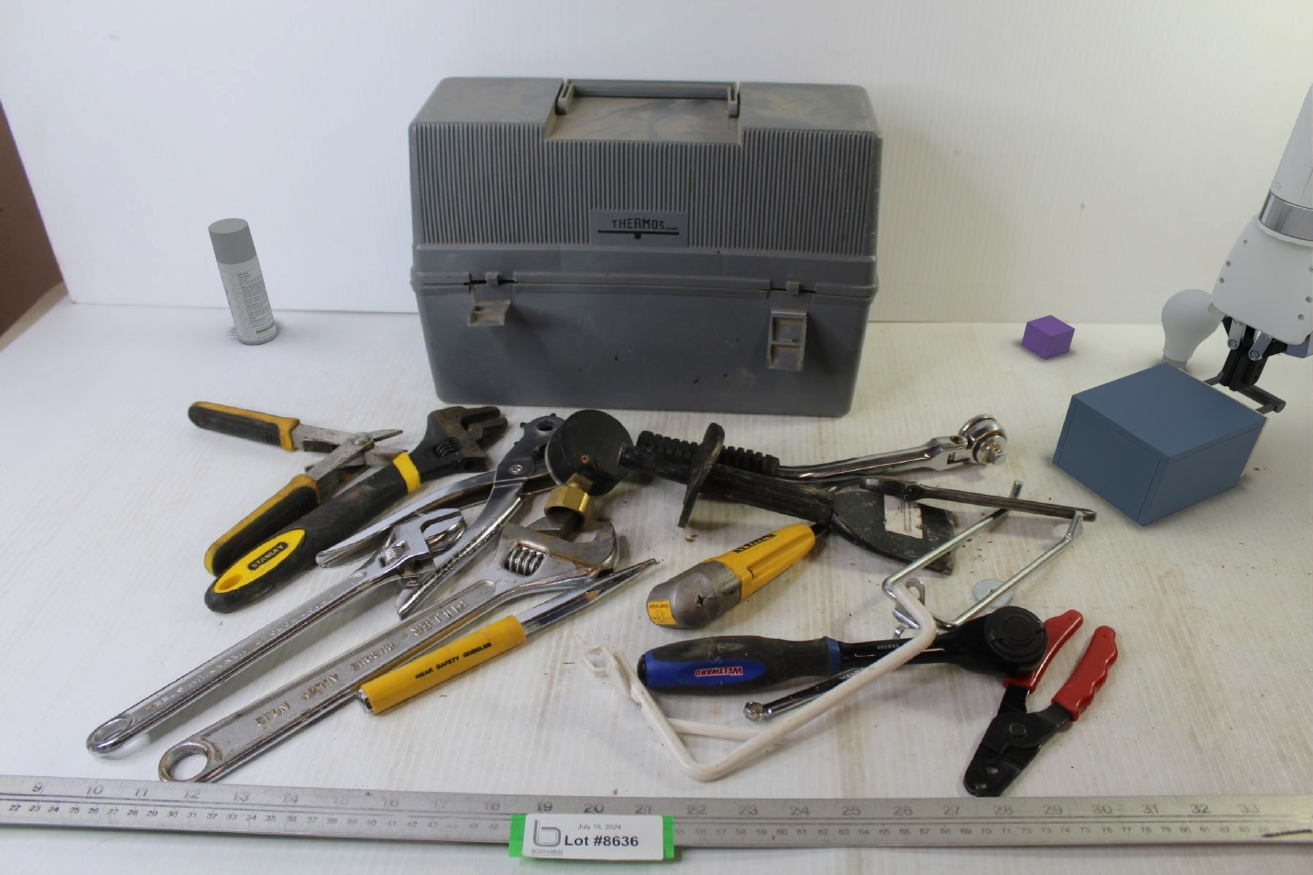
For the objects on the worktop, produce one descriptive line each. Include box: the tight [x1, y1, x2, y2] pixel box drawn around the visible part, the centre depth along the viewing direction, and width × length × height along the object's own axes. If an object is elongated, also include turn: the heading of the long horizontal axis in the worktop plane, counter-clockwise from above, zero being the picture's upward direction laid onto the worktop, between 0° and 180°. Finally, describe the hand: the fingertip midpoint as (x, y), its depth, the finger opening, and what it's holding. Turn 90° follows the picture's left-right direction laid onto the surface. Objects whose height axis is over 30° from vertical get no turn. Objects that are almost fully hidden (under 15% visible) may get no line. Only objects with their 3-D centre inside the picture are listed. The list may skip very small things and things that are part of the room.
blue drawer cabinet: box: [1051, 362, 1267, 528], centre depth 97 cm, size 14×12×9 cm
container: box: [207, 217, 278, 346], centre depth 119 cm, size 5×5×15 cm
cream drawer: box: [1179, 368, 1287, 478], centre depth 99 cm, size 18×10×7 cm, turn 118°
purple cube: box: [1020, 314, 1076, 361], centre depth 119 cm, size 4×4×4 cm
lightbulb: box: [1160, 288, 1221, 371], centre depth 113 cm, size 6×6×11 cm
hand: (1235, 384), depth 99 cm, fingers closed
